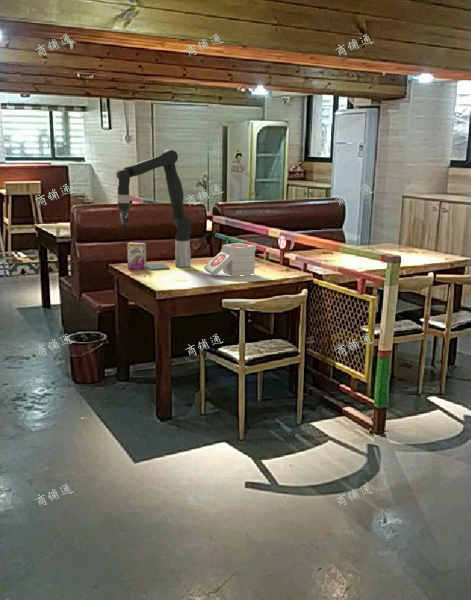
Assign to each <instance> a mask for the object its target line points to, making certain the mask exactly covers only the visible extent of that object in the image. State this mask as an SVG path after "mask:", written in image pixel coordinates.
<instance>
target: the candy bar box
mask: <svg viewBox="0 0 471 600" xmlns="http://www.w3.org/2000/svg"><path fill="white" fill-rule="evenodd" d="M126 246H127V247H126V249H127V251H126V252H127V253H126V254H127V255H126V256H127V257H126V258H127V269H128V270H129V269H132V270H146V269H147V268H146V264H147V243H146V242H131V241H130V242H127V243H126Z"/></svg>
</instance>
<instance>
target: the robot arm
mask: <svg viewBox="0 0 471 600" xmlns="http://www.w3.org/2000/svg"><path fill="white" fill-rule="evenodd" d="M178 155H179V154H178V153H177V152H176V151H175V150H174V149H165V150H163V151H162V152H161V154H160V155H158V156H156V157H153V158H150V159H145V160H142V161H140V162H139V161H138V162H137V163H134V164H132V165H130V166H126V167H122V168H120V169H118V170H117V171H116V173H115V174H116V175H115V176H116V177H117V180H118V186H117V210H118V211H120V212H119V218H120V222H121V230H122V231H127V228H128V227H127V225H128V220H129V213H128V211H130V210H131V199H130V198H131V197H130V181H131V178H132V177H138V176H140V175H143V174H145V173H148V172H151V171H153V170H155V169H158V168H160V167H163V170H164V174H165V181H166V186H167V190H168V191H167V192H168V196H169V201H170V203H171V207H172V208H171V209H172V215H173V223H174V224H173V225H174V226H175V227H176V235H175V237H174V238H175V242H174V243H175V244H174V245H175V247H174V249H175V256H174V257H175V262H174V263H175V267H177V268H190V267H191V251H190V250H191V249H190V245H191V244H190V243H191V242H190V241H191V239H190V238H191V235H192V234H191V231H192V223H191V219H190V218H189V217H188V216H186V212H185V210H184V198H185V197H184V188H183V185H182V182H181V179H180V176H179V175H178V172H177V169H176V163H177V162H178V159H179V156H178Z"/></svg>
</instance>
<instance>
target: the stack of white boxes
mask: <svg viewBox="0 0 471 600" xmlns="http://www.w3.org/2000/svg"><path fill="white" fill-rule="evenodd" d="M256 251H257V245H254V244H248V243H242V242H237V243H229V244H222V245H221V251H220V252H219V253H218V254H217V255H215V256H214V257H213V258H212V259H211V260H210V261H209V262H208V263H207V264H206V265H204V267H203V269H204V270H205V271H206V272H207V273H209V274H211V275H213V276H215V277H216V276H217V275H218V274H219V273H220V272H221V271H222V273H223V272H224V273H223V274H225V273H226V274H225V275H227V274H229V275H231V276H240V275H251V274H254V275H255V264H256V263H255V262H256V260H255V259H256ZM229 275H228V276H229ZM231 276H230V277H231Z"/></svg>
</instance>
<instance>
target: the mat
mask: <svg viewBox="0 0 471 600" xmlns="http://www.w3.org/2000/svg"><path fill="white" fill-rule="evenodd" d="M145 269H147V270H148V271H165V270H166V271H167V270H170V269H171V267H169V266H168V265H166V264H164V263H150V264H149V263H146V268H145Z"/></svg>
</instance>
